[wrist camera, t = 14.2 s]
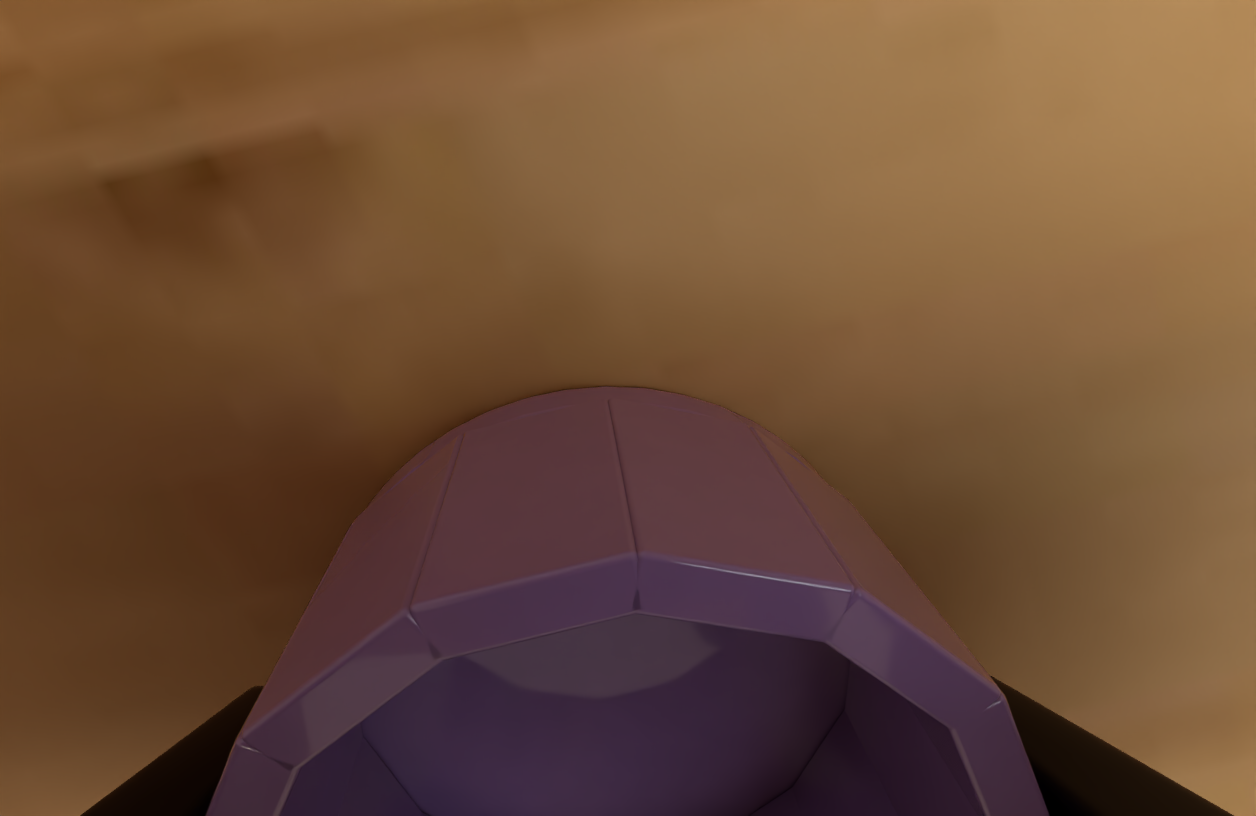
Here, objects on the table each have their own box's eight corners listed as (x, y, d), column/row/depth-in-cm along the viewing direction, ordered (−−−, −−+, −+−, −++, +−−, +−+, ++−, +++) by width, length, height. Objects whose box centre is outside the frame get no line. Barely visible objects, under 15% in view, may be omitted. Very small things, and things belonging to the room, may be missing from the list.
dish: (897, 371, 8) (1132, 532, 5) (841, 831, 10) (977, 1165, 7) (290, 385, 8) (87, 575, 4) (361, 866, 10) (258, 1245, 7)
